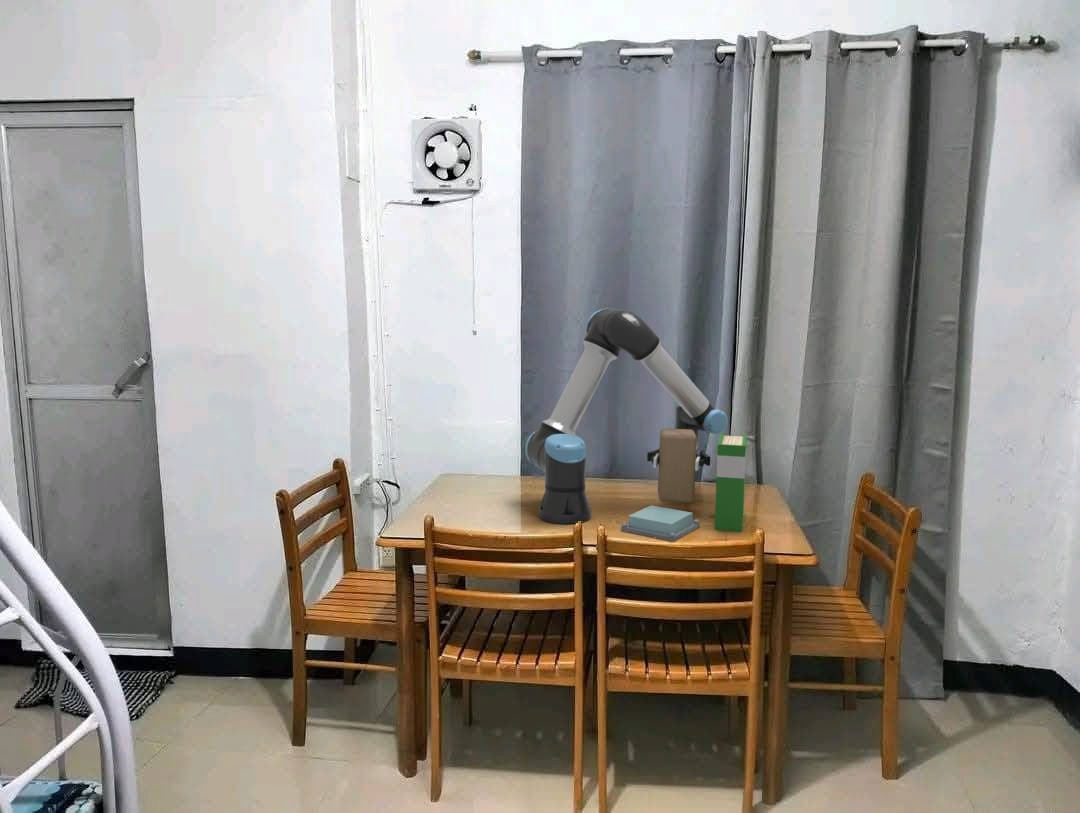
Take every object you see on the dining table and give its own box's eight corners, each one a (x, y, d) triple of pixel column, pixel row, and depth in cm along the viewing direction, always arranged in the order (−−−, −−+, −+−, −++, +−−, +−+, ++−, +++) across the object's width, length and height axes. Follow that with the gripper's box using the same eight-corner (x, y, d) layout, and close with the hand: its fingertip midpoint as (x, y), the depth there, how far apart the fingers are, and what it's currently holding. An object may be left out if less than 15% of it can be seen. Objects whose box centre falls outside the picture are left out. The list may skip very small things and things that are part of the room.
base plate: (621, 530, 219) (621, 516, 219) (648, 517, 232) (649, 503, 231) (673, 542, 210) (674, 526, 209) (699, 527, 223) (700, 512, 222)
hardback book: (717, 511, 238) (720, 432, 234) (743, 513, 236) (746, 434, 232) (714, 529, 221) (717, 444, 217) (742, 531, 219) (745, 446, 215)
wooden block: (691, 494, 238) (694, 428, 235) (694, 503, 229) (697, 435, 226) (657, 493, 239) (660, 427, 236) (659, 502, 230) (661, 434, 227)
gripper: (721, 464, 247) (716, 480, 226) (645, 458, 253) (634, 474, 232) (722, 440, 246) (718, 454, 225) (646, 435, 252) (635, 448, 231)
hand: (675, 464), depth 229 cm, fingers closed on wooden block, 11 cm apart
